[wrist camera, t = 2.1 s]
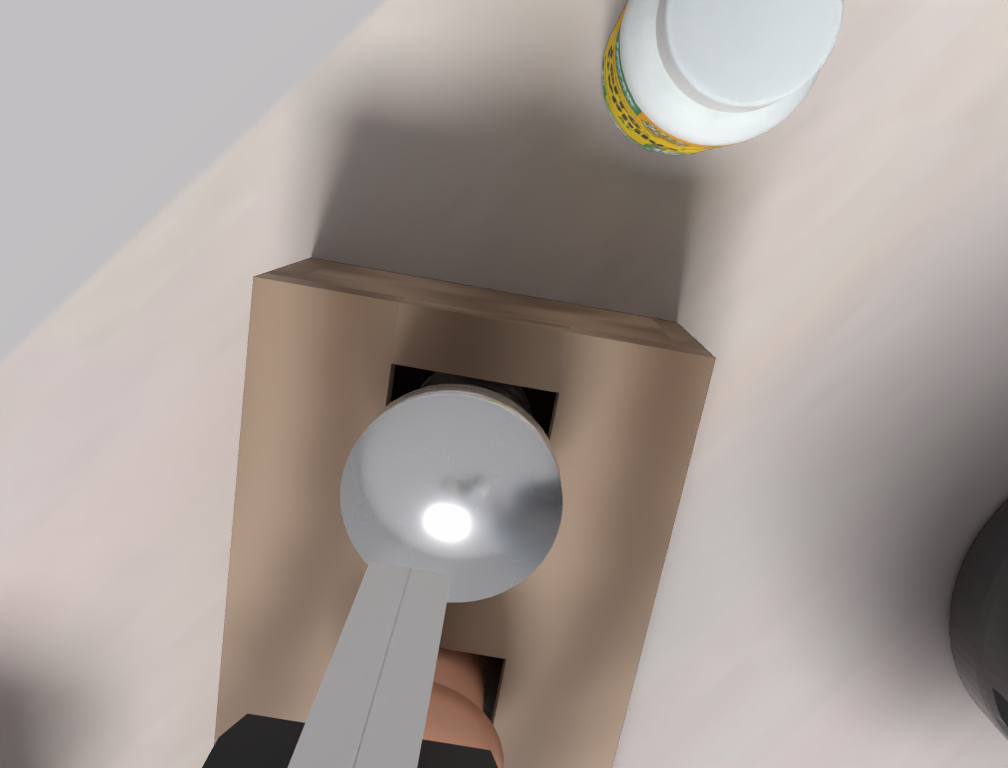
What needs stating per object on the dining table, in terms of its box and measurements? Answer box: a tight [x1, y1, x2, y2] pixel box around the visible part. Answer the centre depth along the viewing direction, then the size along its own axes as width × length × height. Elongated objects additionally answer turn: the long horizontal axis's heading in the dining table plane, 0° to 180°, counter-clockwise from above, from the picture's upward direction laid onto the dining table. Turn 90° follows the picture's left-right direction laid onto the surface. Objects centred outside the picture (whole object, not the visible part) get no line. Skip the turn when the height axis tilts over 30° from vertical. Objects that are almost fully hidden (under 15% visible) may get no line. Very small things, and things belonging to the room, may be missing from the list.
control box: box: [214, 258, 716, 768], centre depth 29 cm, size 14×28×6 cm, turn 170°
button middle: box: [423, 648, 504, 768], centre depth 26 cm, size 6×6×7 cm
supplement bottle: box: [601, 0, 844, 155], centre depth 21 cm, size 5×5×10 cm
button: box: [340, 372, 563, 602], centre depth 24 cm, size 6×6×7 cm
